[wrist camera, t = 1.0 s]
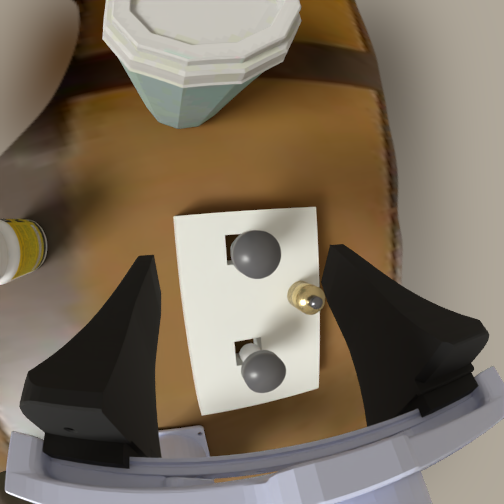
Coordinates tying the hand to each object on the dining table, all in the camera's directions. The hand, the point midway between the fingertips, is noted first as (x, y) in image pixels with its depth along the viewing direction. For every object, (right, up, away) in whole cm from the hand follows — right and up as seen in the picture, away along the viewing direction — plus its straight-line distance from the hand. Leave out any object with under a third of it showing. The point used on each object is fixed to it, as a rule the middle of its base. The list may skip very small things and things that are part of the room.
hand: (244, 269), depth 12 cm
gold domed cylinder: (+4, -3, +14) cm, 15 cm away
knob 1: (-1, +1, +12) cm, 12 cm away
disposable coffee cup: (-6, +15, +12) cm, 20 cm away
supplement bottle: (-20, +1, +9) cm, 22 cm away
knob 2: (0, -8, +13) cm, 15 cm away
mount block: (0, -5, +15) cm, 16 cm away
